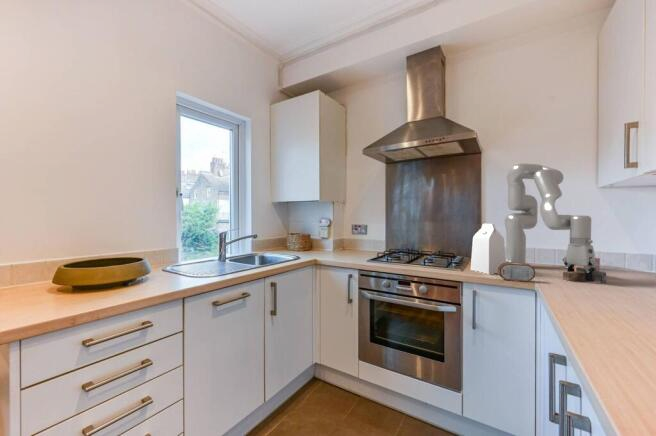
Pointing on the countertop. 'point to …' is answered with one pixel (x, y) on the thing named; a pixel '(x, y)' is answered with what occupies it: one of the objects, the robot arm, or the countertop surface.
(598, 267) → the tile
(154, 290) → the countertop surface
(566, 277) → the brown angular block
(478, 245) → the milk
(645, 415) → the countertop surface
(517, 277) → the tin
